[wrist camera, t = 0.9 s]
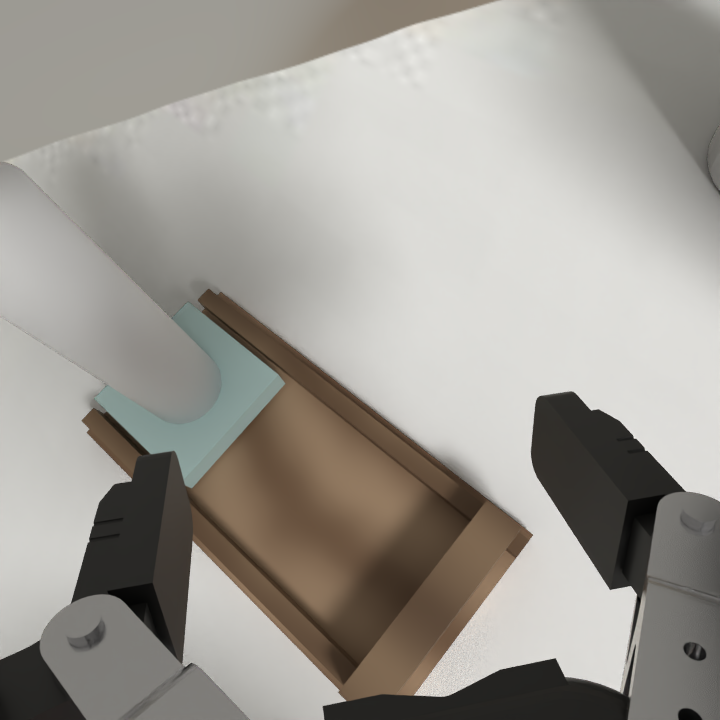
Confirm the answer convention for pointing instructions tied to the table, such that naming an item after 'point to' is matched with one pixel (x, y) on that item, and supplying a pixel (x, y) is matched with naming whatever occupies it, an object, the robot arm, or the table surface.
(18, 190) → the keeper
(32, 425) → the table surface
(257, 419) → the rail board
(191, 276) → the table surface
